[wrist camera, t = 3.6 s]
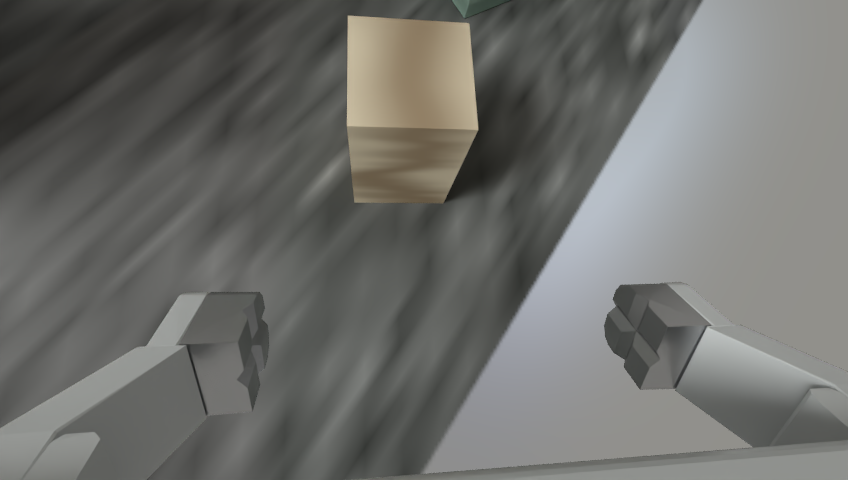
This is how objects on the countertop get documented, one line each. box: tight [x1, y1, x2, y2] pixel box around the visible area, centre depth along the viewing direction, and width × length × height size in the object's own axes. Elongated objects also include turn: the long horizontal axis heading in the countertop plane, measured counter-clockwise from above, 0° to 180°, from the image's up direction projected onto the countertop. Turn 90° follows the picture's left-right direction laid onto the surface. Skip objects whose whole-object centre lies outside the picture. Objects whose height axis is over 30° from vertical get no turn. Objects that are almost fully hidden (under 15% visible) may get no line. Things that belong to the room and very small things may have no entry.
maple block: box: [347, 16, 478, 203], centre depth 20 cm, size 5×5×8 cm
